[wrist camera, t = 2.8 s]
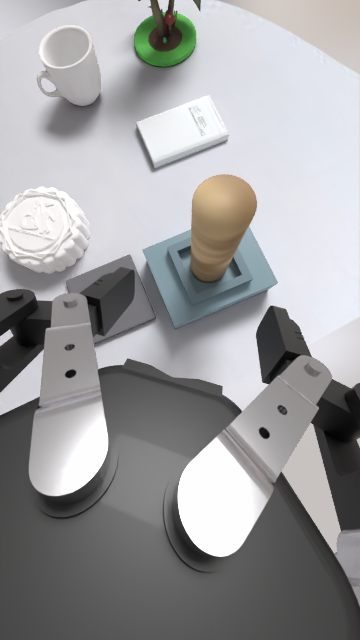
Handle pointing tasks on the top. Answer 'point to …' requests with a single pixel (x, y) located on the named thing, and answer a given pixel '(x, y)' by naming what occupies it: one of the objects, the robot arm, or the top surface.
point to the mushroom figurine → (165, 36)
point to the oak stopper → (219, 224)
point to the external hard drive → (182, 131)
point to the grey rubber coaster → (137, 309)
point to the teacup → (70, 65)
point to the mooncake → (44, 230)
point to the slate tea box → (206, 298)
